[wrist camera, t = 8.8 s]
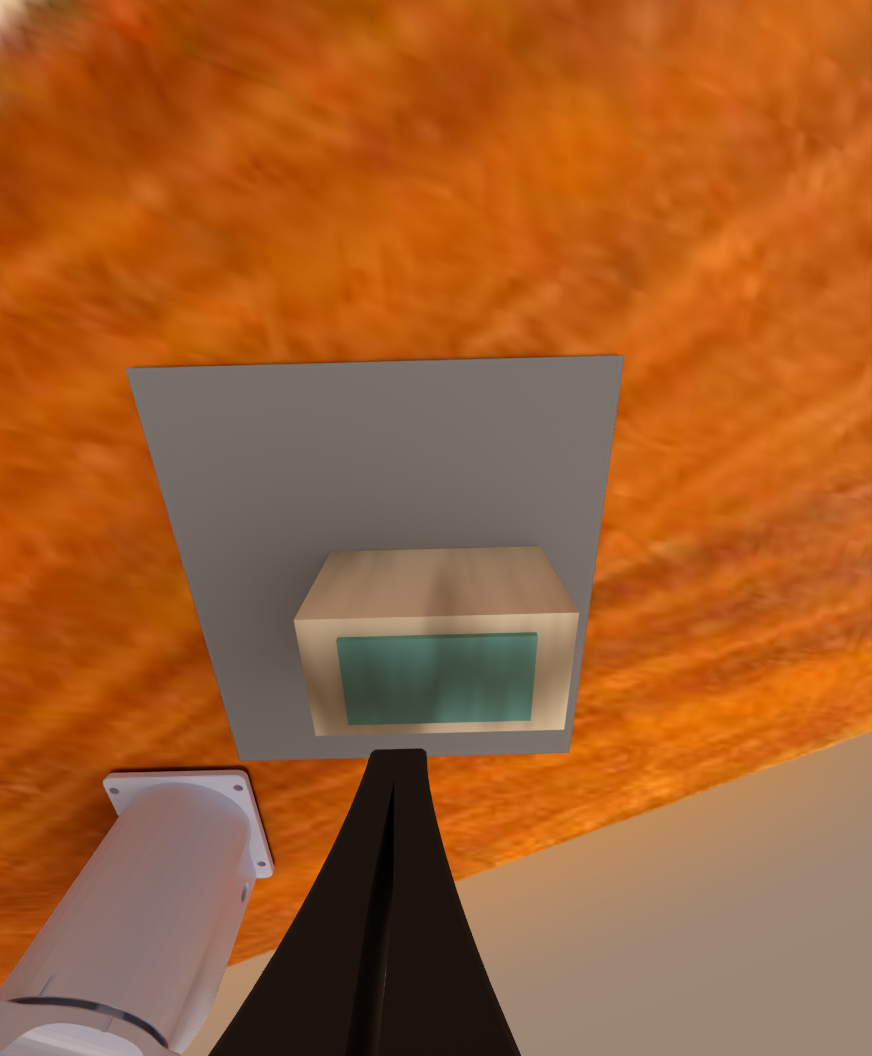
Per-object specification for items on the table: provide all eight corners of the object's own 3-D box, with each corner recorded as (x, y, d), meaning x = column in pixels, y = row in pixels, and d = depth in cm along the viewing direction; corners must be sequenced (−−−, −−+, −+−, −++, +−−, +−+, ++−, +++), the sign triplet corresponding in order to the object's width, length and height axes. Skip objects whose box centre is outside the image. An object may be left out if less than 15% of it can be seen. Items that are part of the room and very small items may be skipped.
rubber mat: (566, 744, 22) (569, 752, 22) (244, 752, 22) (240, 761, 22) (618, 355, 15) (624, 355, 14) (135, 368, 15) (125, 368, 14)
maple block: (343, 646, 19) (532, 641, 19) (314, 740, 14) (565, 734, 14) (330, 551, 17) (539, 546, 17) (291, 623, 12) (581, 616, 12)
